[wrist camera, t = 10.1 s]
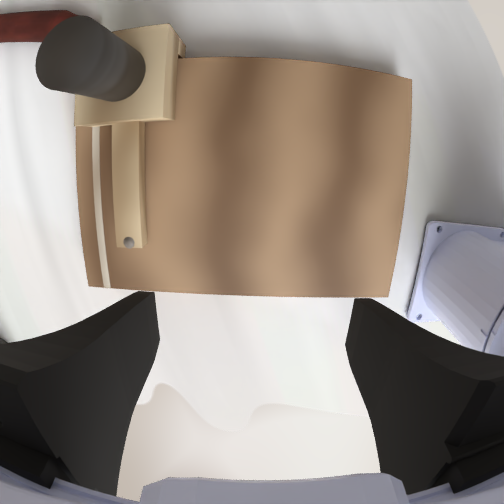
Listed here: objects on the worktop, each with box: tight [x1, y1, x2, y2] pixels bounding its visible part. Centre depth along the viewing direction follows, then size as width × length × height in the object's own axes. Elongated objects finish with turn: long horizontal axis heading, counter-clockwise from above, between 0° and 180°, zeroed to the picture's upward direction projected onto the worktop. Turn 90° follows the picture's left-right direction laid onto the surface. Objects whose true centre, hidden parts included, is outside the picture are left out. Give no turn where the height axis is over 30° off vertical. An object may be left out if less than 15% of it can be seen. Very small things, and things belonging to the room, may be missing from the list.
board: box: [76, 57, 412, 297], centre depth 18 cm, size 20×14×2 cm
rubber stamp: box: [36, 16, 186, 249], centre depth 14 cm, size 5×12×9 cm, turn 178°
